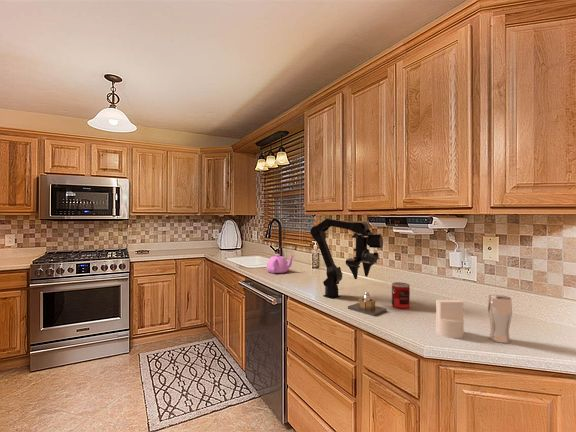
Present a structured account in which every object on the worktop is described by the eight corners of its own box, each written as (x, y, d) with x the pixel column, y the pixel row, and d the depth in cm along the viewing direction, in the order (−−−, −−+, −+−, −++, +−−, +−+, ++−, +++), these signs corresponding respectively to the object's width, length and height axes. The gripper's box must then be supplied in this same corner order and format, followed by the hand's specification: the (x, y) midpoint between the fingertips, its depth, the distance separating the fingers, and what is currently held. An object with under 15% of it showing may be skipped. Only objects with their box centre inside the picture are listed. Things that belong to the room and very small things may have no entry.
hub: (356, 307, 140) (356, 299, 140) (364, 304, 145) (364, 296, 145) (369, 310, 135) (369, 302, 135) (377, 307, 139) (377, 300, 139)
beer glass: (514, 345, 102) (515, 300, 102) (490, 342, 105) (490, 298, 105) (508, 337, 109) (508, 295, 109) (485, 334, 111) (485, 293, 111)
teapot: (291, 275, 219) (291, 256, 219) (262, 274, 224) (262, 255, 224) (297, 270, 241) (297, 253, 241) (271, 269, 246) (271, 252, 246)
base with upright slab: (454, 328, 117) (454, 297, 117) (469, 338, 108) (469, 304, 108) (431, 329, 117) (431, 297, 117) (444, 338, 108) (444, 304, 108)
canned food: (395, 303, 150) (395, 281, 150) (411, 306, 145) (411, 283, 145) (389, 307, 144) (389, 284, 144) (406, 310, 139) (406, 286, 139)
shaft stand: (347, 308, 141) (347, 291, 141) (360, 304, 148) (360, 288, 148) (374, 316, 131) (374, 297, 131) (386, 311, 138) (386, 293, 138)
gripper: (364, 249, 141) (364, 283, 141) (385, 247, 154) (385, 277, 154) (345, 247, 150) (344, 279, 150) (366, 245, 162) (366, 274, 162)
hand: (361, 277), depth 154 cm, fingers open, 9 cm apart
